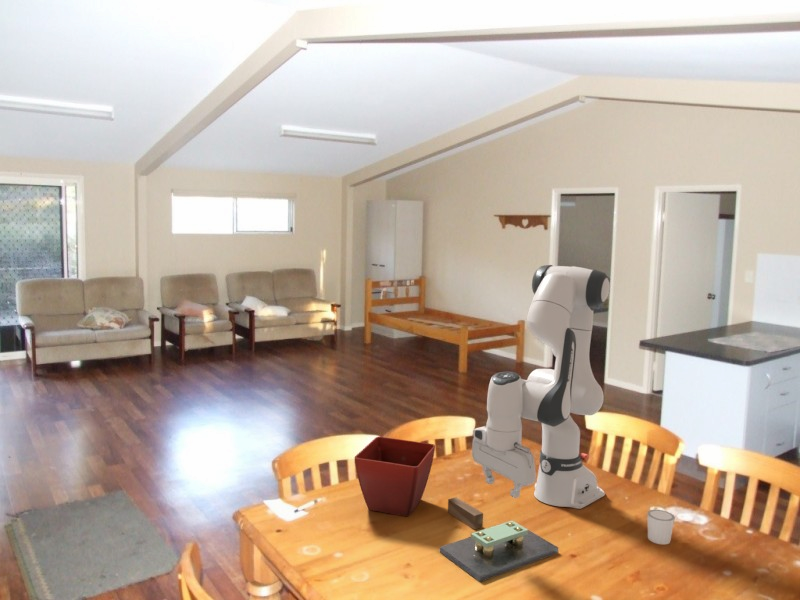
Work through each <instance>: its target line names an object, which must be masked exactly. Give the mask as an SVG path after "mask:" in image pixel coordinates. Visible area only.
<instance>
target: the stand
mask: <svg viewBox="0 0 800 600" xmlns="http://www.w3.org/2000/svg"><path fill="white" fill-rule="evenodd" d="M447 513H448V514H450V515H451V516H452V517H454V518H455V519H457V520H459V521H461V522H462V524H463V523H464V524H465V525H467V526H468V527H470V528H471V529H473V530H477V529H480V528H483V526H484V525H483V524H484V522H483V521H484V512H482V511H480V510H479V509H477V508H476V507H474V506H472V505H470V504H469V503H467V502H466V501H464V500H462V499H461V498H460V497H458V496H455V497H451V498H448V499H447Z"/></svg>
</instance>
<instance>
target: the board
mask: <svg viewBox="0 0 800 600" xmlns="http://www.w3.org/2000/svg"><path fill="white" fill-rule="evenodd" d="M509 522H512V523H513V524H512V527H509ZM517 527H520V531H519V532H518V531H516V529H517ZM528 530H529V529H528V528H526V527H524V526H522V525H521V524H519V523H517V522H516V521H514V520H509V521H505V522H503V523H500V524H497V525H494V526H490V527H487V528H483V529H481V530H477V531H475V532H472V533H470V537H471V538H472V539H473V540H475V541H476V542H478V543H479V544H481V545H482V546H484V547H485V548H488V547H491V546H494V545H497V544H500V543H503V542H506V541H509V540H512V539H515V538H518V537H521V536H524V535H527V534H528ZM479 532H483V536H481V537H480V536H479ZM487 537H491V541H489V542H488V541H487Z"/></svg>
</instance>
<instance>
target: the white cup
mask: <svg viewBox="0 0 800 600" xmlns="http://www.w3.org/2000/svg"><path fill="white" fill-rule="evenodd" d="M646 518H647V538H648V540H649V541H650V542H652V543H654V544H657V545H668V544H670V543H671V540H672V533H673V529H674V523H675V515H674V514H673V513H672V512H669V511H666V510H663V509H651V510H648V511H647V517H646Z"/></svg>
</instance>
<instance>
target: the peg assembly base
mask: <svg viewBox="0 0 800 600" xmlns="http://www.w3.org/2000/svg"><path fill="white" fill-rule="evenodd" d="M508 522H509V521H508ZM512 524H513V523H512V522H509V527H512ZM516 531H518V532H519V531H520V527H517V529H516ZM479 536H480V537H481V536H483V532H479ZM487 541H488V542H489V541H491V537H487ZM439 553H440V554H441V555H442V556H444V557H445V558H447V559H448V560H449V561H451V562H452V563H454V564H455V565H456V566H458V567H459V568H460V569H461V570H462V571H464V572H466V573H468V575H470V576H471V577H472V578H473V579H475V580H477V581H478V582H480V583H482V582H485V581H487V580H489V579H491V578H494V577H497V576H500V575H502V574H505V573H507V572H510V571H513V570H515V569H519V568H521V567H524V566H527V565H530V564H532V563H534V562H537V561H540V560H542V559H543V560H544V559H545V558H548V557H550V556H551V557H552V556H554V555H556V554H559V547H558V546H556V545H555V544H553V543H551V542H550V541H548V540H546V539H545V538H543V537H541V536H540V535H537V534H536V533H535V532H533V531H532V530H529V529H528V534H527V535H524V536H521V537H518V538H515V539H512V540H509V541H506V542H503V543H500V544H497V545H494V546H491V547H488V548H485V547H484V546H482V545H481V544H479V543H478V542H476V541H475V540H473V539H472V538H471V536H469V537H466V538H462V539H460V540H456V541H453V542H451V543H447V544H444V545H441V546H439Z"/></svg>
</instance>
